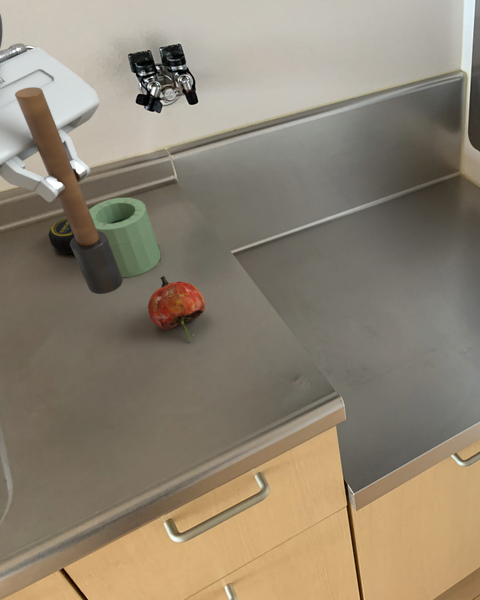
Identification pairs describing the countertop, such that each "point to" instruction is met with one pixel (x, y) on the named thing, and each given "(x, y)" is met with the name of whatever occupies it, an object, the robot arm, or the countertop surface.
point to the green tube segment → (127, 234)
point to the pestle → (70, 196)
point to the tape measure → (61, 236)
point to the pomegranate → (175, 304)
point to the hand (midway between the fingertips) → (71, 186)
